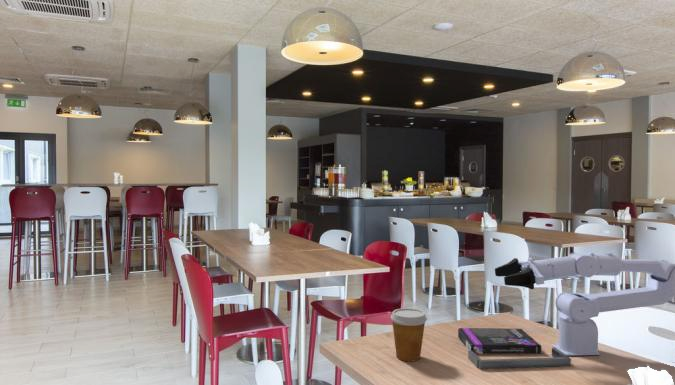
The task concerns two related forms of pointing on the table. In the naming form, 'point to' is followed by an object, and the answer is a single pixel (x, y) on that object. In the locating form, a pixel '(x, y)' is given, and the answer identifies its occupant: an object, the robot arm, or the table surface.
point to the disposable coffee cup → (408, 333)
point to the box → (498, 341)
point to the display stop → (522, 361)
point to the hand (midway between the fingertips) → (499, 276)
